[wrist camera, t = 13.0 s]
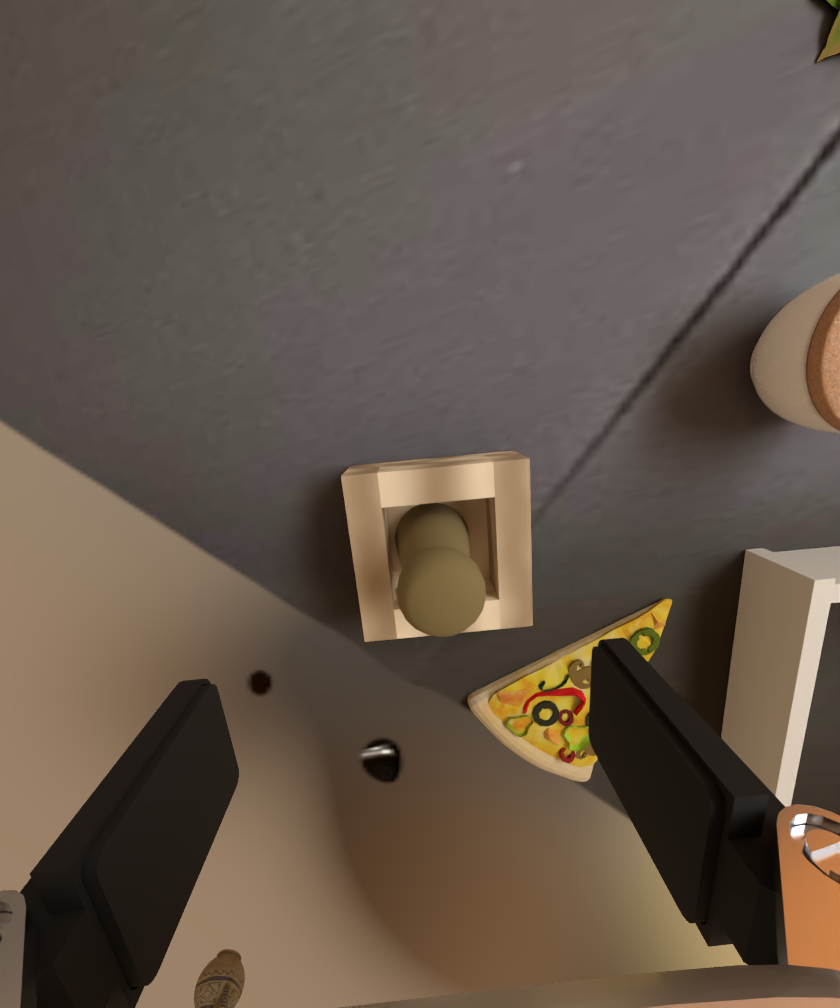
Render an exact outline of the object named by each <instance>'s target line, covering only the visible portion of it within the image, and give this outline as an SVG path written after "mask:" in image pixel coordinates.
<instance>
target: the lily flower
mask: <svg viewBox="0 0 840 1008" xmlns="http://www.w3.org/2000/svg"><path fill="white" fill-rule="evenodd" d="M827 1H828V2H829V3H830V4H831V5H832V6H833V7H835V8H836V9H838V10H840V0H827ZM839 52H840V11H839V13H838V15H837V18H836V20H835V22H834V25H833V27H832V29H831V32H830V34H829V37H828V40H827V44H826V48H825V49H824V50H823V51H822V53H821V55H820V57H819V59H818V60H817V62H818V61H820V60H822V59H823V58H825V57H829V56H832V55H835V54H838V53H839Z"/></svg>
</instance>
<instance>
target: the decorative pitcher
mask: <svg viewBox="0 0 840 1008" xmlns="http://www.w3.org/2000/svg"><path fill="white" fill-rule="evenodd" d="M244 973H245V972H244V967H243V965H242V963H241V955H240V954H239V953H238V952H237V951H235V950H231V949H224V950H221V951H220V952H219V953H218V954H217V957H216V958H214V959H213V960H212V961H210V962H209V964H208V965H207V966H206V967H205V968H204V970H203V971H202V973H201V974H200V976H199V978H198V981H197V984H196V987H195V991H194V1004H195V1008H234V1007H235V1006H236V1004H237V1003H238V1001H239V999H240V997H241V994H242V991H243V987H244V982H245V974H244Z"/></svg>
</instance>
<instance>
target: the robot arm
mask: <svg viewBox="0 0 840 1008" xmlns="http://www.w3.org/2000/svg"><path fill="white" fill-rule="evenodd" d="M588 732H589V740H590V743H591V746H592V748H593V751H594V752H595V754H596V756H597V758H598V760H599V762H600V764H601V765H602V767H603V769H604V771H605V773H606V775H607V777H608V778H609V780H610V782H611V784H612V786H613V788H614V789H615V791H616V793H617V795H618V797H619V799H620V801H621V802H622V804H623V806H624V808H625V810H626V812H627V814H628V815H629V817H630V819H631V821H632V823H633V825H634V827H635V828H636V830H637V832H638V834H639V836H640V837H641V839H642V841H643V843H644V845H645V847H646V849H647V851H648V853H649V854H650V856H651V858H652V860H653V862H654V864H655V865H656V867H657V869H658V871H659V873H660V875H661V877H662V878H663V880H664V882H665V884H666V886H667V888H668V889H669V891H670V893H671V895H672V897H673V899H674V901H675V903H676V904H677V906H678V908H679V910H680V911H681V913H682V915H683V916H684V918H685V919H686V920H687V921H688V922H689V923H696V925H697V927H698V929H699V930H700V932H701V934H702V936H703V938H704V939H705V941H706V943H707V945H708V946H718V945H726V944H733V945H734V946H735V948H736V950H737V952H738V953H739V955H740V956H741V958H742V960H743V962H745V963H746V964H748V965H741V966H740V965H737V966H725V967H714V968H701V969H690V970H678V971H666V972H655V973H643V974H633V975H624V976H615V977H606V978H597V979H588V980H578V981H569V982H561V983H551V984H542V985H534V986H524V987H515V988H505V989H496V990H488V991H479V992H470V993H461V994H453V995H444V996H435V997H428V998H418V999H409V1000H401V1001H392V1002H384V1003H376V1004H368V1005H358V1006H350V1007H342V1008H840V816H838V815H836V814H834V813H832V812H830V811H827V810H824V809H821V808H817V807H814V806H808V805H799V804H796V805H792V806H787V807H785V806H784V805H783V804H782V803H781V802H780V801H779V799H778V798H777V797H776V796H775V795H774V794H773V793H772V792H771V791H770V790H769V789H768V788H767V787H766V786H765V784H764V783H763V782H762V781H761V780H760V779H759V778H758V777H757V776H756V775H755V774H754V773H753V772H752V770H751V769H750V768H749V767H748V766H747V765H746V764H745V763H744V762H743V761H742V760H741V759H740V758H739V757H738V755H737V754H736V753H735V752H734V751H733V750H732V749H731V748H730V747H729V746H728V745H727V744H726V743H725V742H724V740H723V739H722V738H721V737H720V736H719V735H718V734H717V733H716V732H715V731H714V730H713V729H712V728H711V727H710V725H709V724H708V723H707V722H706V721H705V720H704V719H703V718H702V717H701V716H700V715H699V714H698V713H697V711H696V710H695V709H694V708H693V707H692V706H691V705H690V704H689V703H688V702H687V701H686V700H685V699H684V698H683V697H682V696H681V695H680V694H678V693H676V692H675V691H674V690H673V689H672V688H671V687H670V686H669V685H668V683H667V682H666V681H665V680H664V679H663V678H662V677H661V676H660V675H659V674H658V673H657V672H656V670H655V669H654V668H653V667H652V666H651V665H650V664H649V663H648V662H647V661H646V660H645V659H644V657H643V656H642V655H641V654H640V653H639V652H638V651H637V650H636V649H635V648H634V647H633V646H632V644H631V643H630V642H629V641H628V640H627V639H625V638H613V639H603V640H600V641H599V643H598V646H595V647H593V649H592V660H591V683H590V706H589V730H588ZM238 778H239V769H238V765H237V761H236V757H235V753H234V749H233V745H232V742H231V738H230V734H229V731H228V727H227V723H226V719H225V715H224V711H223V708H222V704H221V700H220V696H219V693H218V689H217V687H216V685H213V684H211V683H210V682H209V680H208V679H198V680H188V681H182V682H179V683H178V685H176V687H175V688H174V689H173V691H172V692H171V693H170V694H169V696H168V697H167V698H166V700H165V701H164V702H163V703H162V705H161V706H160V707H159V709H158V710H157V711H156V712H155V714H154V715H153V716H152V718H151V719H150V720H149V721H148V723H147V724H146V725H145V727H144V728H143V729H142V731H141V732H140V733H139V734H138V736H137V737H136V738H135V740H134V741H133V742H132V743H131V745H130V746H129V747H128V749H127V750H126V751H125V752H124V754H123V755H122V756H121V757H120V759H119V760H118V761H117V763H116V764H115V765H114V766H113V768H112V769H111V770H110V772H109V773H108V774H107V776H106V777H105V778H104V779H103V781H102V782H101V783H100V784H99V786H98V787H97V788H96V790H95V791H94V792H93V793H92V795H91V796H90V797H89V799H88V800H87V801H86V803H85V804H84V805H83V806H82V808H81V809H80V810H79V811H78V813H77V814H76V815H75V816H74V818H73V819H72V820H71V822H70V823H69V824H68V826H67V827H66V828H65V829H64V831H63V832H62V833H61V834H60V836H59V837H58V839H57V840H56V841H55V842H54V844H53V845H52V846H51V847H50V849H49V850H48V851H47V853H46V854H45V855H44V856H43V858H42V859H41V860H40V861H39V863H38V864H37V865H36V867H35V868H34V869H33V870H32V872H31V873H30V875H31V879H30V880H29V881H28V883H27V884H26V885H25V886H24V888H23V889H22V890H21V892H20V893H19V892H18V891H15V890H10V891H9V890H8V891H7V890H4V891H0V1008H135V1006H136V1004H137V1002H138V999H139V997H140V995H141V993H142V990H143V988H144V986H146V985H149V984H150V983H151V982H152V981H153V979H154V978H155V976H156V975H157V972H158V970H159V968H160V966H161V963H162V961H163V959H164V956H165V954H166V952H167V949H168V947H169V945H170V942H171V940H172V937H173V935H174V933H175V931H176V928H177V926H178V923H179V921H180V919H181V916H182V914H183V912H184V909H185V907H186V905H187V902H188V900H189V897H190V895H191V893H192V890H193V888H194V886H195V883H196V881H197V879H198V876H199V874H200V872H201V869H202V867H203V864H204V862H205V860H206V857H207V855H208V853H209V850H210V848H211V846H212V843H213V841H214V838H215V836H216V833H217V831H218V829H219V826H220V824H221V822H222V819H223V817H224V815H225V812H226V810H227V808H228V805H229V803H230V801H231V798H232V796H233V794H234V791H235V789H236V786H237V783H238Z"/></svg>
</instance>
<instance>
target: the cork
mask: <svg viewBox="0 0 840 1008" xmlns="http://www.w3.org/2000/svg"><path fill="white" fill-rule="evenodd" d="M395 542H396V548H397V552H398V555H399V559H400V562H401V566H402V569H403V570H402V572H401V573H400V575H399V580H398V585H397V592H396V593H397V600H398V606H399V608H400V610H401V612H402V614H403V615H404V617H405V619H406V621H407V622H408V623H409V624H411V625H412V626H413V627H414V628H415V629H416V630H418V631H421V632H423V633H425V634H427V635H431V636H437V637H446V636H453V635H456V634H458V633H460V632H463V631H465V630H466V629H467V628H468V627H470V626H471V625H472V624H473V623H474V622H476V620H477V619H478V617H479V616H480V614H481V612H482V611H483V607H484V603H485V599H486V588H485V581H484V578H483V576H482V574H481V572H480V570H479V568H478V566H477V565H476V564H475V563H474V561H473V560H472V559H471V558H470V548H469V534H468V527H467V525H466V523H465V520H464V518H463V517H462V516H461V515H460V514H459V513H458V512H457V511H456V510H455V509H453V508H451V507H450V506H448V505H446V504H441V503H428V504H420V505H418V506H415V507H413V508H411V509H410V510H409V511H408V512H407V513H406V514H404V515H403V516H402V518H401V520H400V522H399V523H398V525H397V528H396V534H395Z"/></svg>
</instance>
